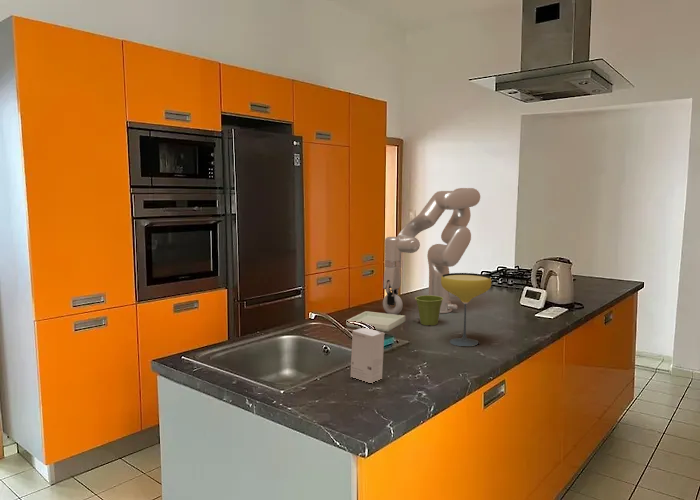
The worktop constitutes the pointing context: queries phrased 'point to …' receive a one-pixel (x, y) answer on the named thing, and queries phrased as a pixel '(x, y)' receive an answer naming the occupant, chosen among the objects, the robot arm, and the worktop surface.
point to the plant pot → (429, 309)
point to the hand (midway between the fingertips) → (392, 303)
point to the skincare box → (367, 355)
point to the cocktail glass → (465, 295)
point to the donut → (397, 307)
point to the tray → (378, 320)
